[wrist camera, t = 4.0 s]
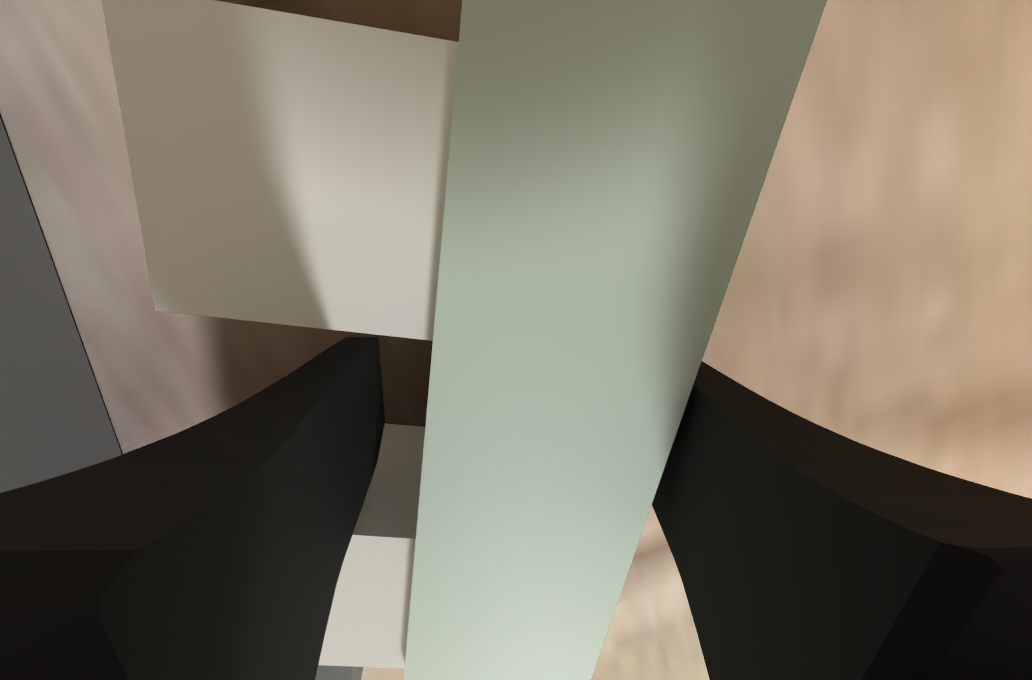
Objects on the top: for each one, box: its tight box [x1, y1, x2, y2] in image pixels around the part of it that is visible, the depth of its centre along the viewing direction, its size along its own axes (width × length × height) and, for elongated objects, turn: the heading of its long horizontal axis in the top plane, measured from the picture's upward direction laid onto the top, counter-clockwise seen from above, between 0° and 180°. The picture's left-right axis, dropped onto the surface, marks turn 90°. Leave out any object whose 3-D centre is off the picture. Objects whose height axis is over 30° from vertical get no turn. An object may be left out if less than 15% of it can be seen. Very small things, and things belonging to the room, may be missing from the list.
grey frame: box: [0, 118, 363, 680], centre depth 10 cm, size 7×17×3 cm, turn 177°
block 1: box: [102, 0, 459, 341], centre depth 8 cm, size 4×4×4 cm
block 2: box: [318, 423, 425, 669], centre depth 12 cm, size 4×4×4 cm
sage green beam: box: [404, 0, 827, 680], centre depth 10 cm, size 4×14×4 cm, turn 171°
